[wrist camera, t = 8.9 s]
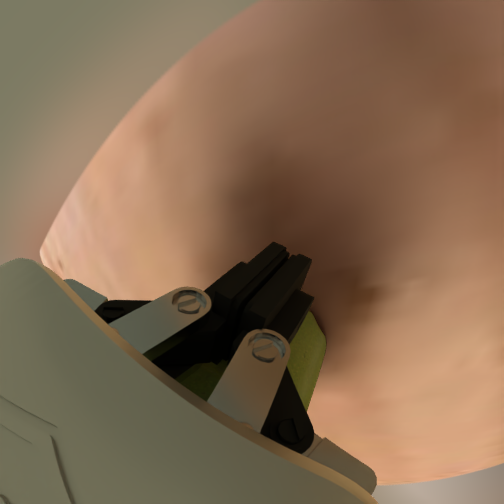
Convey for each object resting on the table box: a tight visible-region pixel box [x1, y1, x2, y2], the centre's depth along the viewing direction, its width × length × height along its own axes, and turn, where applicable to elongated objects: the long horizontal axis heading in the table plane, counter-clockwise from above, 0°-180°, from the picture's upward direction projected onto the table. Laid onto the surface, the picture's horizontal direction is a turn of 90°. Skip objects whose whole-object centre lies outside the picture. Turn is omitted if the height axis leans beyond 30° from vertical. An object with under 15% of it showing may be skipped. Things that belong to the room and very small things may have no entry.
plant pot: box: [180, 311, 326, 412], centre depth 12 cm, size 9×9×9 cm
